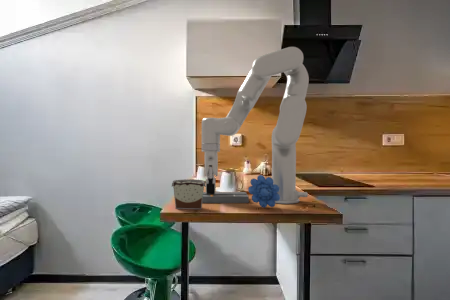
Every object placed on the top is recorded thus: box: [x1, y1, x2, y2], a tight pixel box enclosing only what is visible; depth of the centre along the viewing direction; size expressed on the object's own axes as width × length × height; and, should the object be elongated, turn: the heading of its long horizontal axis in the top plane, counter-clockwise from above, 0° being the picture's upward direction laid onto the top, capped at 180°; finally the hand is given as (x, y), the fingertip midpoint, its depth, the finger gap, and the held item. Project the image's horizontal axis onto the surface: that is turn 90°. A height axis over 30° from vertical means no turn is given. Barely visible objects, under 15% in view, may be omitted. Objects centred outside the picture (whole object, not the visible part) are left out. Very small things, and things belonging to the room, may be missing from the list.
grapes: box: [247, 174, 280, 209], centre depth 129 cm, size 12×7×12 cm, turn 86°
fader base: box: [202, 191, 249, 204], centre depth 145 cm, size 19×12×3 cm, turn 92°
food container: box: [171, 178, 206, 210], centre depth 130 cm, size 12×6×10 cm, turn 84°
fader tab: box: [205, 177, 217, 195], centre depth 145 cm, size 4×3×7 cm
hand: (210, 192), depth 145 cm, fingers closed on fader tab, 3 cm apart
